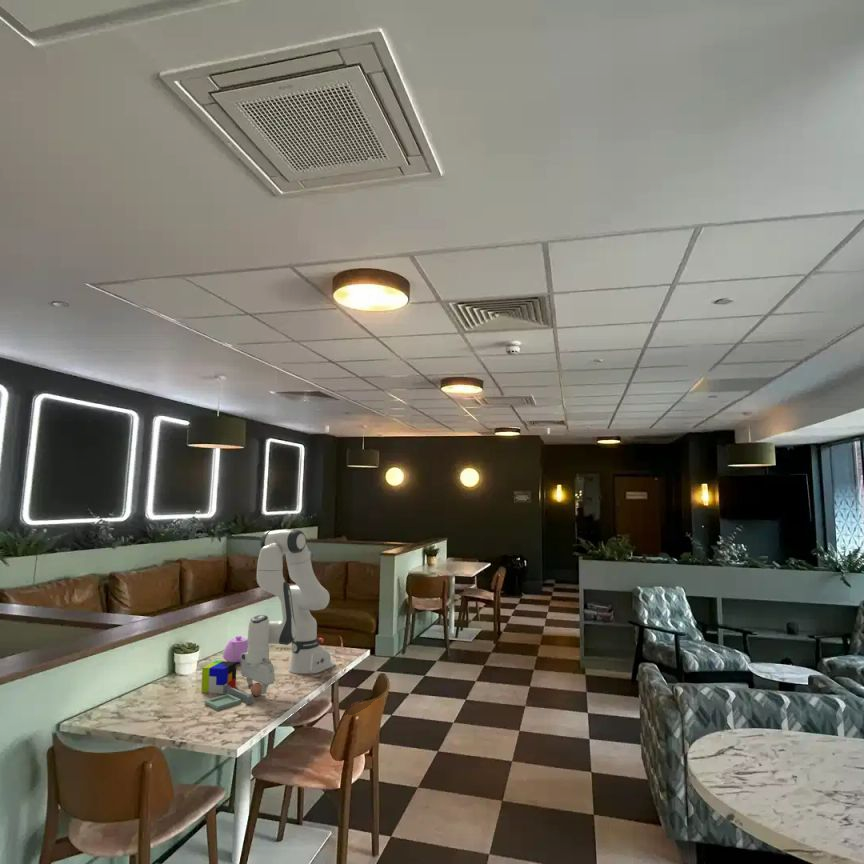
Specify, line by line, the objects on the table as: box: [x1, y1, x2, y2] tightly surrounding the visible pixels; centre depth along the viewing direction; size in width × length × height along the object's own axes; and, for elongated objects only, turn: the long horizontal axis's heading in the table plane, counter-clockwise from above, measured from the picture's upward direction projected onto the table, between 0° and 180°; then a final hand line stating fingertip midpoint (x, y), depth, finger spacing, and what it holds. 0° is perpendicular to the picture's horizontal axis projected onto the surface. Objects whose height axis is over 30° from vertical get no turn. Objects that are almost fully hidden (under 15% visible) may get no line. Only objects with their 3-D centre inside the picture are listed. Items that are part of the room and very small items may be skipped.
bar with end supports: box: [223, 685, 254, 706], centre depth 229 cm, size 2×19×3 cm, turn 49°
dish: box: [204, 694, 242, 711], centre depth 223 cm, size 10×10×2 cm
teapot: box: [222, 635, 248, 665], centre depth 281 cm, size 20×14×12 cm
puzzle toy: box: [201, 660, 238, 695], centre depth 242 cm, size 10×10×10 cm
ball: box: [250, 682, 263, 697], centre depth 233 cm, size 5×5×5 cm
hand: (257, 691), depth 233 cm, fingers open, 8 cm apart
